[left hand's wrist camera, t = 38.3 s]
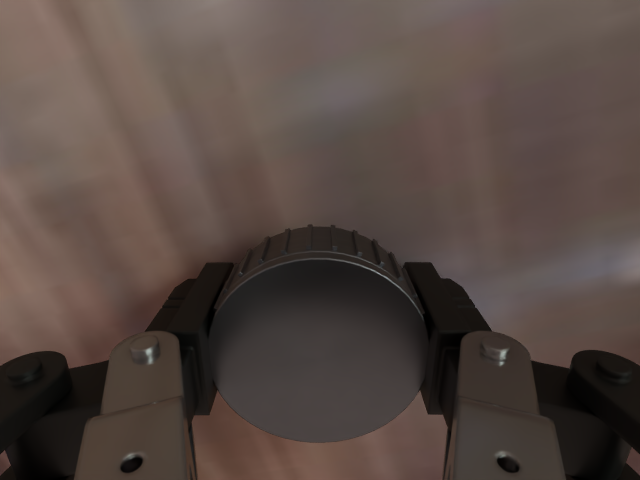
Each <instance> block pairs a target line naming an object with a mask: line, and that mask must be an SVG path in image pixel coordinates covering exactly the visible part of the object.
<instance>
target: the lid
mask: <svg viewBox="0 0 640 480" xmlns="http://www.w3.org/2000/svg"><path fill="white" fill-rule="evenodd" d="M213 312H215V315H214V317H213V320H212V322H211V325H210V328H209V332H208V343H209V352H210V360H211V368H212V376H213V382H214V384H215V386H216V388H217V390H218V391H219V393H220V394H221V396H222V398H223V399H224V400H225V401H226V402H227V404H228V405H229V406H230V407H231V408H232V409H233V410H234V411H235V412H236V413H237V414H238V415H239V416H241V417H242V418H244V419H245V420H246V421H248V422H249V423H251V424H252V425H254V426H256V427H258V428H259V429H261V430H264V431H266V432H268V433H270V434H273V435H276V436H279V437H282V438H286V439H290V440H295V441H302V442H316V443H325V442H337V441H342V440H347V439H352V438H355V437H359V436H362V435H365V434H367V433H369V432H372V431H374V430H376V429H378V428H380V427H382V426H384V425H385V424H387V423H388V422H390V421H391V420H393V419H394V418H395V417H397V416H398V415H399V414H400V413H401V412H402V411H403V410H405V409H406V407H407V406H408V405H409V404H410V403H411V402H412V401H413V399H414V398H415V396H416V395H417V393H418V392H419V390H420V388H421V386H422V384H423V382H424V380H425V374H426V365H427V357H428V348H429V333H428V329H427V326H426V323H425V320H424V317H426V314H425V311H424V309H423V307H422V305H421V302H420V300H419V298H418V296H417V293H416V291H415V289H414V287H413V285H412V283H411V280H410V278H409V276H408V274H407V271H406V269H405V268H402V269H401V267H400V266H399V265H398V263H397V261H396V259H395V256H394V254H393V253H392V252H390V253H388V252H387V251H386V250H384V249H383V248H382V247H380V246H379V245H378V242H377V241H376V240H375V239H373V241H371V240H369V239H368V238H366V237H364V236H361V235H359V234H358V232H357V231H355V230H353V232H351V231H347V230H343V229H339V228H335V225H331V227H312V225H308V227H305V228H298V229H294V230H290V228H288V229H285V232H284V233H281V234H278V235H276V236H274V237H272V238H269V236H268V237H266V238H265V240H264V242H263V243H261V244H260V245H258V246H257V247H256V248H254V249H253V250H252V249H251V248H250V249H249V250H248V251H247V253H246V256H245V258H244V259H243V260H242V261H241V263H240V264H239V265H238V264H237V263H236V264H235V266H234V268H233V270H232V272H231V274H230V276H229V278H228V281H227V280H226V282H225V285H224V287H223V289H222V291H221V293H220V295H219V297H218V300H217V302H216V304H215V306H214V308H213Z"/></svg>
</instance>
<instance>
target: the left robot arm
mask: <svg viewBox="0 0 640 480" xmlns="http://www.w3.org/2000/svg"><path fill="white" fill-rule="evenodd" d="M233 268H234V264H233V263H206V265H205V266H204V268H203V270H202V271H201V273H200V275H199V276H198V278H197V279H187V280H186V281H184V282H183V283H181V284H180V285H178V286H177V287H175V288H174V290H173V291H172V293H171V294H170V296H169V297H168V300H166V302H165V303H164V305H163V306H162V308H161V309H160V310H159V312H158V313H157V315H156V316H155V318H154V319H153V321H152V322H151V324H150V325H149V327H148V328H147V329H146V331H145V332H143V333H139V334H136V335H133V336H131V337H129V338H127V339H125V340H123V341H122V342H120V343H119V344H118V345H117V346H116V347H115V348H114V349H113V350H112V352H111V354H110V358H109V360H107V361H104V362H100V363H96V364H91V365H86V366H81V367H76V368H71V369H69V368H68V364H67V361H66V358H65V356H64V355H62V354H60V353H58V352H53V351H41V352H35V353H30V354H26V355H23V356H20V357H17V358H15V359H13V360H10V361H8V362H7V363H5V364H3V365H1V366H0V454H1V453H2V452H3V451H4V450H5V451H6V454H7V456H8V459H9V461H10V464H11V466H10V467H9V468H8V469H7V470H6V471H5V472H4V473H3V474H2V475H1V476H0V480H198V474H197V464H196V454H195V444H194V435H193V429H192V419H193V417H194V415H210V411H211V408H212V405H213V402H214V399H215V396H216V393H217V388H216V386H215V384H214V382H213V376H212V368H211V360H210V352H209V343H208V332H209V328H210V325H211V322H212V320H213V317H214V315H215V312H213V308H214V306H215V304H216V302H217V300H218V297H219V295H220V293H221V291H222V289H223V287H224V285H225V282H226V280H227V281H228V278H229V276H230V274H231V272H232V270H233ZM403 268H405V269H406V271H407V274H408V276H409V278H410V280H411V283H412V285H413V287H414V289H415V291H416V293H417V296H418V298H419V300H420V302H421V305H422V307H423V309H424V311H425V314H426V317H424V320H425V323H426V326H427V329H428V333H429V348H428V357H427V365H426V374H425V380H424V382H423V384H422V386H421V388H420V391H421V394H422V397H423V400H424V404H425V407H426V410H427V413H428V414H443V416H444V419H445V421H446V424H447V427H448V429H447V435H446V444H445V454H444V464H443V474H442V480H640V476H639V475H638V474H637V473H636V472H635V471H634V470H633V469H632V468H631V467H630V466H629V465H628V464H627V463H626V460H627V458H628V455H629V453H630V450H631V447H632V448H634V449H635V450H636V451H637V452H638V453H639V454H640V366H639V365H637V364H636V363H634V362H632V361H630V360H628V359H626V358H624V357H621V356H618V355H616V354H612V353H609V352H604V351H598V350H584V351H580V352H578V353H576V354H575V355H574V356H573V358H572V361H571V365H570V368H564V367H559V366H554V365H549V364H544V363H540V362H535V361H532V360H531V358H530V354H529V352H528V350H527V349H526V348H525V347H524V346H523V345H522V344H521V343H520V342H518V341H517V340H515V339H513V338H511V337H509V336H507V335H504V334H501V333H497V332H492V330H491V329H490V327H489V326H488V324H487V323H486V321H485V320H484V318H483V317H482V315H481V314H480V312H479V311H478V309H477V308H475V305H474V303H473V302H472V300H471V299H469V296H468V295H467V293H466V292H465V290H464V289H463V287H461V286H460V285H458V284H457V283H455V282H454V281H452V280H451V279H441V278H440V276H439V275H438V273H437V271H436V270H435V268H434V266H433V265H432V263H431V262H405V264H404V267H403Z"/></svg>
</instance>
